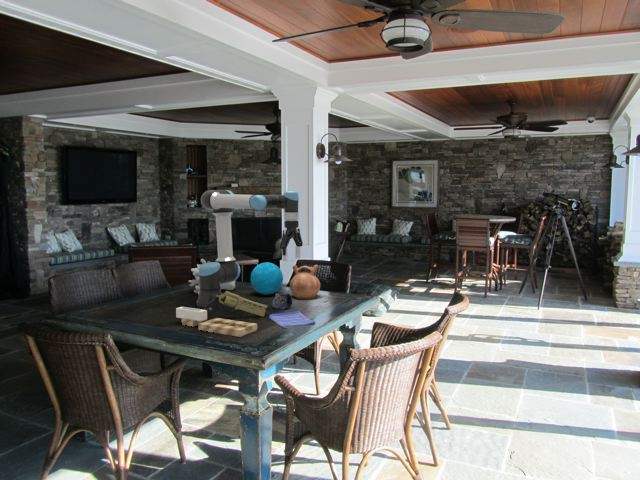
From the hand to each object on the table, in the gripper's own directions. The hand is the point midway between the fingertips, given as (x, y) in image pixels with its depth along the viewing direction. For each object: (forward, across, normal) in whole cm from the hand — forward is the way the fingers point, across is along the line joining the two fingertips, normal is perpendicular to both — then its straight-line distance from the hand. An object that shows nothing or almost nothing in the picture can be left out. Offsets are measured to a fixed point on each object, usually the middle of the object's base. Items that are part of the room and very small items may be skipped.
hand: (291, 259), depth 284 cm
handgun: (+28, -28, +17) cm, 43 cm away
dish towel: (+28, -21, -12) cm, 37 cm away
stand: (+27, -49, +27) cm, 62 cm away
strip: (+27, -49, +27) cm, 62 cm away
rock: (+28, +2, +7) cm, 29 cm away
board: (+27, -49, +5) cm, 56 cm away
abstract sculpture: (+28, +19, +69) cm, 77 cm away
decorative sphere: (+28, +29, +35) cm, 53 cm away
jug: (+28, +32, +10) cm, 44 cm away
